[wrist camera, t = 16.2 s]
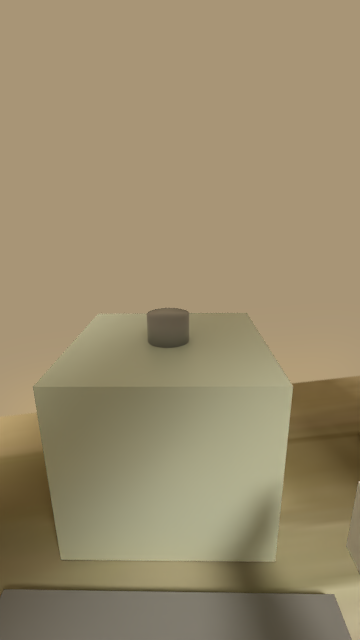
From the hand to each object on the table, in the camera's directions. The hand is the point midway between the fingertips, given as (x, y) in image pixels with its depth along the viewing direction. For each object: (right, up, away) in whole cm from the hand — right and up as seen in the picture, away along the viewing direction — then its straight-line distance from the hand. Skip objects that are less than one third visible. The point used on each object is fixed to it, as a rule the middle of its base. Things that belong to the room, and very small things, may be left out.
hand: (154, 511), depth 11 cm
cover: (0, -4, +11) cm, 12 cm away
